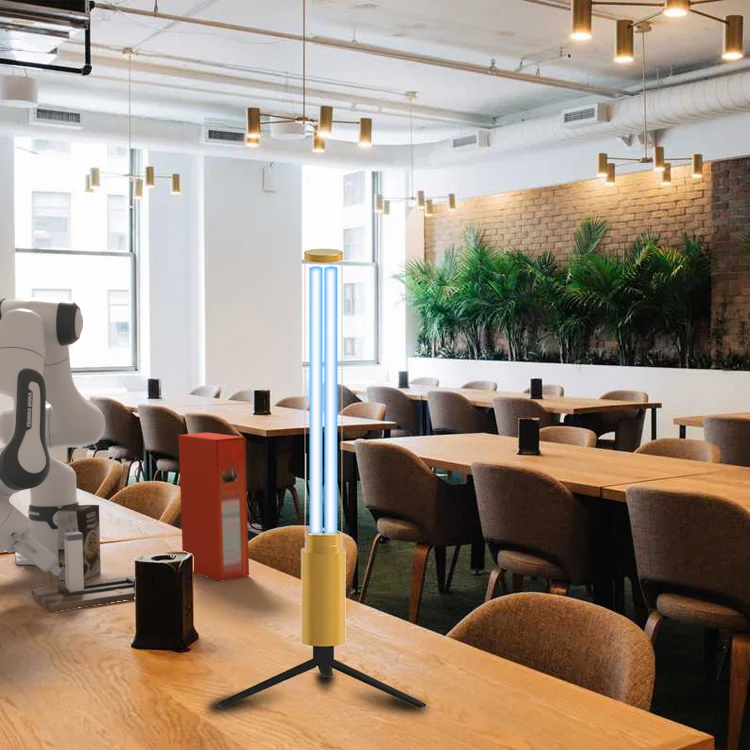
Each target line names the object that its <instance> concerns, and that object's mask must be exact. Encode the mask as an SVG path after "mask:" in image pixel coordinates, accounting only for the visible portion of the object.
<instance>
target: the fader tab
mask: <svg viewBox="0 0 750 750" xmlns="http://www.w3.org/2000/svg"><path fill="white" fill-rule="evenodd" d="M63 534H64V547H65V580H64V581H65V585H66V589H67V590H68V591H69V592H76V591H83V590H84V581H85V580H84V576H83V540H82V539H83V533H81V532H79V531H78V532H69V533H63Z"/></svg>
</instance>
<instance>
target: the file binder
mask: <svg viewBox="0 0 750 750" xmlns="http://www.w3.org/2000/svg"><path fill="white" fill-rule="evenodd" d="M178 456H179V460H178V461H179V482H180V483H179V486H180V490H179V491H180V492H179V493H180V516H181V518H180V519H181V521H180V522H181V547H182V548H181V549H182V552H183V551H186V552H189V553H192V554H193V556H194V572H196V573H195V574H197V573H199V574H202V575H205V576H208V577H211V578H213V579H212V580H214V579H216V580H215V581H217V580H219V581H218V582H220V581H221V582H223V581H222V580H226V581H229V580H228V579H231V580H235V579H234V578H236V579H240V577H242V578H247V577H248V576H249V575H250V564H249V563H250V557H249V533H248V532H249V529H248V527H249V525H248V501H247V499H248V495H247V468H246V465H247V464H246V438H245V436H239V435H232V434H231V435H230V434H223V433H214V432H208V431H207V432H196V433H187V434H179V435H178ZM194 572H193V573H194ZM199 574H198V575H199ZM202 575H201V576H202ZM205 576H204V577H205ZM246 576H247V577H246ZM208 577H207V578H208ZM211 578H210V579H211Z"/></svg>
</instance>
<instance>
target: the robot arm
mask: <svg viewBox="0 0 750 750" xmlns="http://www.w3.org/2000/svg"><path fill="white" fill-rule="evenodd" d="M83 318H84V317H83V315H82V311H81V308H80V306H79V305H78V304H76V302H74V301H71V300H68V299H63V298H62V299H60V300H59V299H54V298H52V299H51V298H45V297H31V298H30V297H29V298H26V297H25V298H10V299H9V298H8V299H6V298H0V394H3V395H4V396H8V397H11V398H12V400H13V406H11V407H7V408H5V409H4V410H3V411H2V412H1V413H0V442H1V443H2V444H3V445H4V446H3V447H1V448H0V553H3V552H5V551H6V553H7V552H8V553H9V554H11V553H14V552H15V553H14V557H15V564H16V565H33V566H36V567H38V568H39V569H40V570H41V571H42V572H44V573H47V572H49V573H51V574H53V575H54V576H59V573H60V572H61V568H60V567H59V566H58V519H57V511H58V510H61V509H65V508H68V507H71V506H74V505H80V503H79V501H78V496H77V495H78V493H77V474H76V471H75V470H74V468H73V467H72V466H70V465H68V463H65V462H63V461H60V460H58V459H56V458H54V457H53V455H52V454H51V451H50V450H51V449H55V448H80V447H84V446H89V445H93V444H97V443H99V441H100V440H101V439H102V438H103V436H104V433H105V431H106V418H105V415H104V414H103V412H102V410H101V409H100V408H99V407H98V406H97V405H95V404H93V403H91V402H90V401H89V400H88V399H86V398H85V397H84V395H82V393H80V392H79V390H78V389H77V386H76V385H75V382H74V379H73V375H72V374H73V373H72V369H71V361H70V358H71V357H70V348H69V346H70V345H73V344H75V343H76V342H77V341H78V340H79V339H80V337H81V334H82V331H83V329H84V319H83ZM24 490H25V491H26V490H29V493H30V495H29V496H30V498H29V499H30V504H29V506H28V511H27V512H28V516H27V515H25V514H24V513H22V511H20V510H19V509H18V508H16V507H15V506H14V505H13V504H12V503H11V501H10V499H11V497H12V496H13V495H14V494H16V493H20V492H21V491H24Z"/></svg>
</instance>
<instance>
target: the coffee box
mask: <svg viewBox="0 0 750 750" xmlns="http://www.w3.org/2000/svg"><path fill="white" fill-rule="evenodd" d="M57 519H58V564H57V566H59V567H60V568H61V572H60V573H59V574H58V580H59V581H65V547H64V534H63V533H69V532H78V531H79V532H81V533H83V539H82V540H83V576H84V581H86V580H87V579H90V578H92V577H94V576H97V575H98V573H99V574H100V572H101V571H102V570H101V567H102V566H101V562H102V561H101V531H100V530H101V529H100V527H101V526H100V523H101V522H100V504H81V505H80V504H79V505H74V506H71V507H68V508H65V509H61V510H58V511H57ZM85 579H86V580H85Z"/></svg>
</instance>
